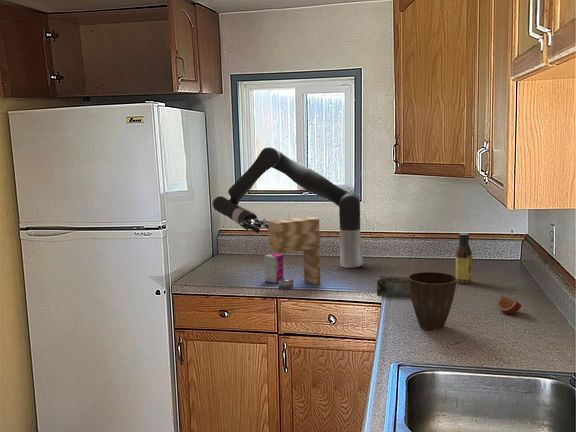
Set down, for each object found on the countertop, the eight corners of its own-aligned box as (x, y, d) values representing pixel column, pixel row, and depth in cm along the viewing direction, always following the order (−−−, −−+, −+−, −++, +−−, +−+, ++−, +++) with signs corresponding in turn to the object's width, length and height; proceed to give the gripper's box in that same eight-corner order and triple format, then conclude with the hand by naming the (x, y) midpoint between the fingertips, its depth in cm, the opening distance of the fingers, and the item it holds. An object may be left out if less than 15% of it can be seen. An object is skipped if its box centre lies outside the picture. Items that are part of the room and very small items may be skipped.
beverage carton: (378, 290, 231) (378, 273, 230) (428, 292, 227) (428, 275, 226) (376, 296, 224) (376, 279, 223) (428, 298, 220) (428, 280, 219)
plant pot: (425, 315, 199) (425, 269, 196) (465, 325, 188) (466, 276, 185) (398, 326, 188) (398, 278, 186) (439, 338, 178) (439, 286, 175)
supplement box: (275, 284, 244) (274, 257, 242) (264, 282, 248) (263, 255, 246) (284, 281, 249) (283, 254, 247) (273, 279, 252) (272, 252, 250)
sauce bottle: (472, 284, 235) (473, 235, 232) (456, 284, 236) (456, 235, 233) (470, 280, 241) (471, 232, 238) (454, 280, 242) (455, 232, 239)
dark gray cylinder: (288, 284, 243) (288, 277, 243) (296, 287, 238) (296, 280, 238) (276, 286, 241) (275, 279, 240) (283, 290, 235) (283, 282, 235)
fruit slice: (492, 310, 203) (492, 296, 202) (508, 307, 205) (509, 293, 204) (509, 317, 195) (509, 302, 194) (525, 314, 197) (526, 300, 196)
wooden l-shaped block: (310, 279, 250) (308, 216, 246) (321, 283, 242) (319, 218, 238) (270, 286, 240) (268, 221, 236) (280, 291, 233) (278, 223, 229)
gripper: (233, 209, 256) (255, 222, 245) (258, 209, 266) (281, 221, 255) (229, 226, 258) (251, 239, 247) (255, 225, 268) (277, 238, 256)
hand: (266, 230), depth 251 cm, fingers open, 8 cm apart
